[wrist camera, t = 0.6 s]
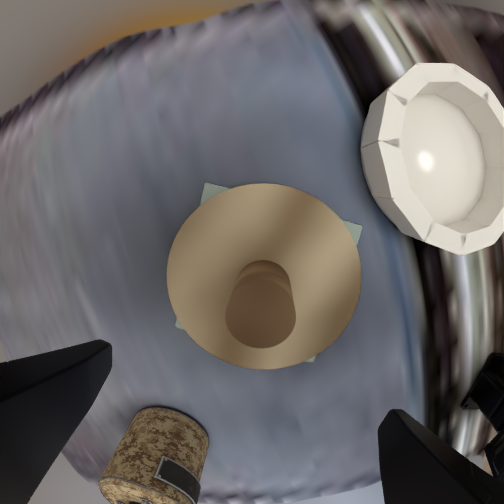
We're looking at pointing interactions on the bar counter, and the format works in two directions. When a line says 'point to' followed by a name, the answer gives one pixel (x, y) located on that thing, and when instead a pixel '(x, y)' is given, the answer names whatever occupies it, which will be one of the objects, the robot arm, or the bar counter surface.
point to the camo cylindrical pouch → (157, 460)
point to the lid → (264, 276)
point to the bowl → (438, 157)
